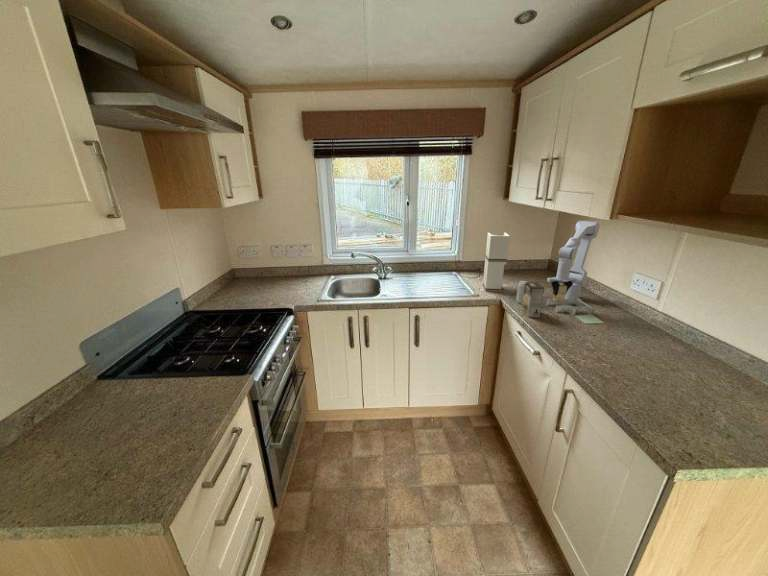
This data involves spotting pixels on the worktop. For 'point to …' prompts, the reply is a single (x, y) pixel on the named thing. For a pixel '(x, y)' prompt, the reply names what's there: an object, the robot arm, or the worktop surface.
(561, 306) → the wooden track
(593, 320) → the end pad
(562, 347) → the worktop surface
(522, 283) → the beverage can
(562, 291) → the birch block
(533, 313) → the coffee box
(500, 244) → the tall white stacked column
